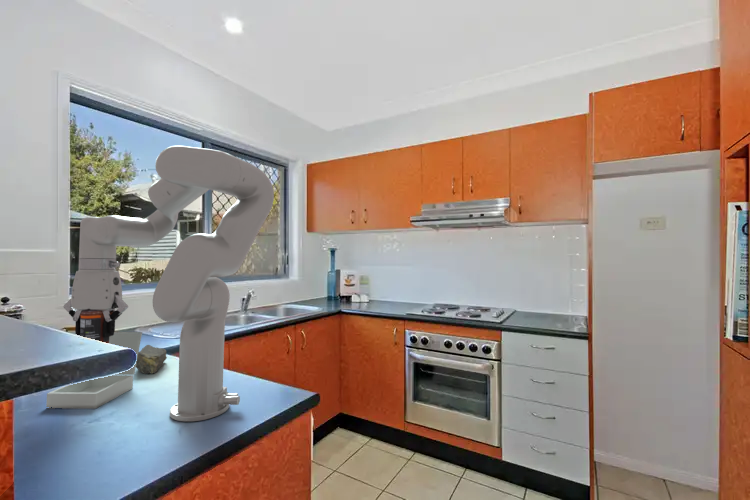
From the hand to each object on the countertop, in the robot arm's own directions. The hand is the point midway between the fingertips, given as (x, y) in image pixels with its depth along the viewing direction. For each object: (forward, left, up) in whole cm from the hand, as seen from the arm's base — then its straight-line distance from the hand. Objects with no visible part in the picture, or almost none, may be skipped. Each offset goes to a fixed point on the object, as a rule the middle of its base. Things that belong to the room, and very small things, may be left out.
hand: (95, 335), depth 91 cm
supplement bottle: (0, 0, -3) cm, 3 cm away
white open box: (0, -2, -16) cm, 16 cm away
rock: (0, -25, -16) cm, 30 cm away
